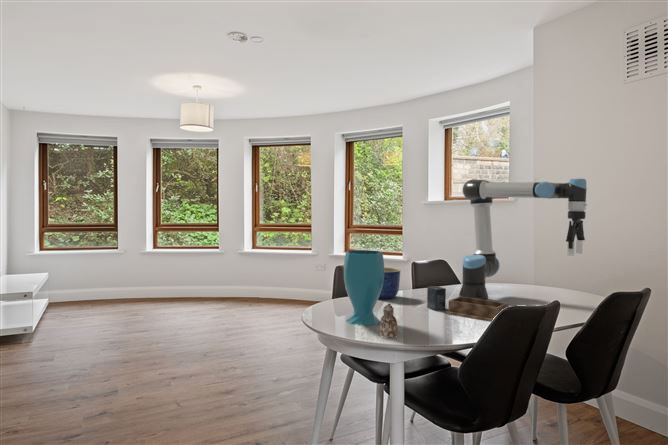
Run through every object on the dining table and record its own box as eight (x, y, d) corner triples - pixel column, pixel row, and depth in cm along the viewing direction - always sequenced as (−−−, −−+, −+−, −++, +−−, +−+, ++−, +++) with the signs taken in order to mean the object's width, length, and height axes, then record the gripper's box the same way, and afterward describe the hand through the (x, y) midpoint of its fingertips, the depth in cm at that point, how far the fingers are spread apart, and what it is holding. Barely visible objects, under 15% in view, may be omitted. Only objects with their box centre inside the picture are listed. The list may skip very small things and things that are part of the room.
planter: (405, 296, 247) (405, 268, 246) (391, 302, 233) (392, 272, 232) (377, 293, 256) (377, 266, 256) (363, 298, 242) (363, 270, 241)
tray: (444, 313, 209) (445, 300, 208) (459, 307, 221) (459, 295, 221) (498, 322, 193) (498, 309, 192) (511, 316, 205) (511, 302, 205)
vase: (372, 328, 182) (372, 255, 181) (335, 322, 191) (336, 252, 190) (389, 319, 197) (390, 251, 196) (355, 314, 206) (356, 249, 205)
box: (445, 310, 215) (446, 288, 215) (435, 311, 213) (435, 289, 213) (436, 306, 223) (436, 285, 222) (426, 307, 221) (427, 286, 220)
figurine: (376, 337, 171) (377, 305, 170) (381, 332, 178) (382, 302, 177) (395, 339, 168) (395, 307, 168) (399, 334, 175) (399, 303, 175)
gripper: (577, 211, 205) (575, 257, 206) (592, 210, 223) (590, 253, 224) (560, 210, 210) (558, 255, 211) (575, 210, 228) (574, 251, 229)
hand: (574, 254), depth 218 cm, fingers open, 13 cm apart
